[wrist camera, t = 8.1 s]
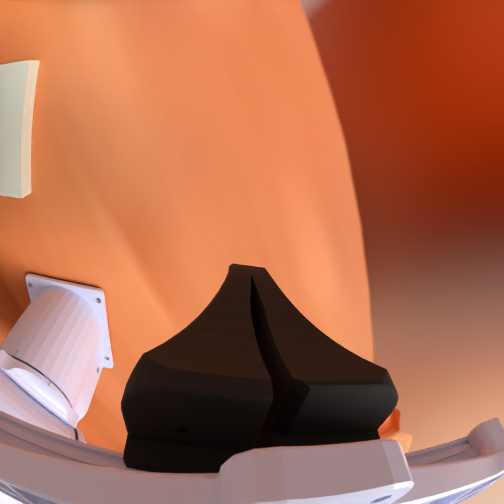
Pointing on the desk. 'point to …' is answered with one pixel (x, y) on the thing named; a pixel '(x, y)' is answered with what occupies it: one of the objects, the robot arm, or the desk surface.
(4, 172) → the panel
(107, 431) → the desk surface
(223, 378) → the robot arm
